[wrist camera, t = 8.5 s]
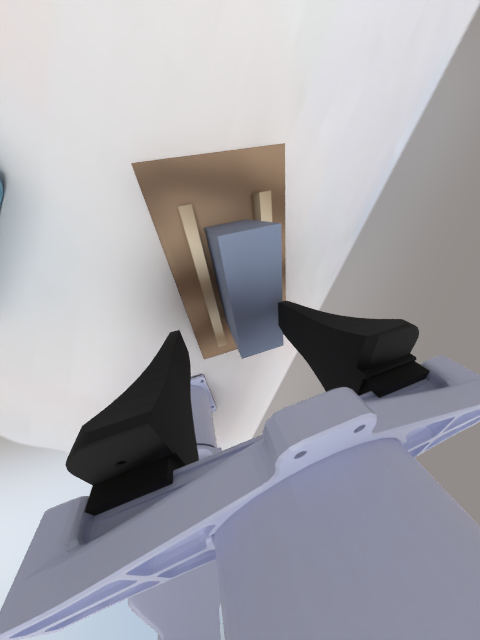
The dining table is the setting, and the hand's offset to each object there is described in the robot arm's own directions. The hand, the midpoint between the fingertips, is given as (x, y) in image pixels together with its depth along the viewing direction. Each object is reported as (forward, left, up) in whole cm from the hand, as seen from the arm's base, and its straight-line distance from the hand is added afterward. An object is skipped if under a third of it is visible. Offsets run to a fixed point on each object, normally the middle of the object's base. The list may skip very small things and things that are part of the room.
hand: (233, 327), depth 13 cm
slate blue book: (+1, -2, -8) cm, 8 cm away
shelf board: (+1, -2, -9) cm, 10 cm away
